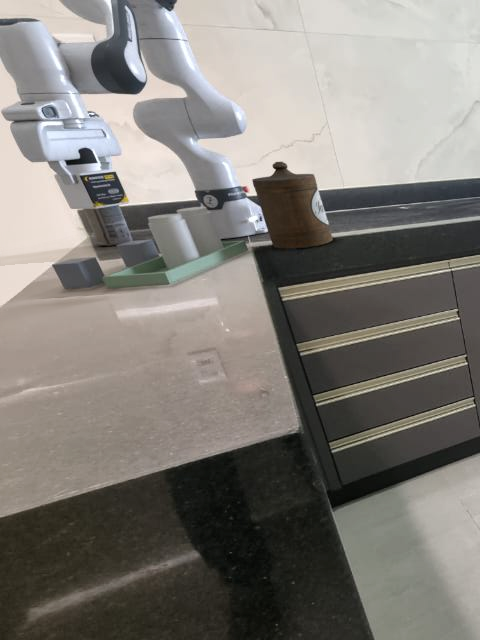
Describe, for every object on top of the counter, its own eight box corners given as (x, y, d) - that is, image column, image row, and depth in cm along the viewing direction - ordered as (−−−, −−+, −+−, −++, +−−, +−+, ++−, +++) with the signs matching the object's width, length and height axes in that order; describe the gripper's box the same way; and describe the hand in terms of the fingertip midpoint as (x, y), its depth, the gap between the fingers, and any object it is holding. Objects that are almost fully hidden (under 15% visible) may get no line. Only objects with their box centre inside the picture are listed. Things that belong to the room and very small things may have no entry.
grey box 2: (141, 264, 136) (131, 240, 133) (162, 262, 136) (152, 239, 133) (127, 269, 131) (115, 245, 129) (149, 267, 132) (138, 244, 129)
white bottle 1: (179, 264, 131) (158, 214, 126) (209, 262, 132) (189, 212, 127) (161, 271, 125) (137, 219, 120) (191, 269, 126) (170, 217, 120)
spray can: (131, 239, 167) (101, 173, 159) (139, 242, 163) (108, 174, 154) (96, 245, 161) (62, 176, 153) (103, 248, 157) (68, 177, 148)
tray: (199, 255, 142) (194, 243, 141) (249, 251, 143) (244, 240, 142) (108, 291, 114) (101, 277, 113) (171, 286, 115) (165, 272, 114)
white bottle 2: (204, 254, 140) (185, 207, 135) (231, 252, 141) (213, 205, 136) (188, 260, 134) (167, 212, 129) (216, 259, 135) (197, 210, 129)
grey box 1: (84, 284, 119) (71, 258, 117) (108, 283, 120) (95, 257, 117) (65, 291, 115) (51, 264, 112) (90, 289, 115) (77, 262, 113)
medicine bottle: (95, 209, 112) (66, 148, 107) (69, 209, 113) (39, 149, 108) (130, 203, 118) (104, 145, 113) (105, 203, 119) (79, 146, 114)
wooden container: (341, 241, 150) (317, 159, 141) (283, 252, 141) (254, 165, 131) (322, 235, 160) (299, 158, 150) (266, 245, 150) (238, 163, 140)
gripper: (83, 111, 116) (112, 177, 122) (-9, 110, 98) (31, 188, 104) (113, 110, 117) (141, 175, 123) (28, 109, 99) (66, 186, 104)
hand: (90, 181), depth 113 cm, fingers closed on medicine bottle, 8 cm apart
